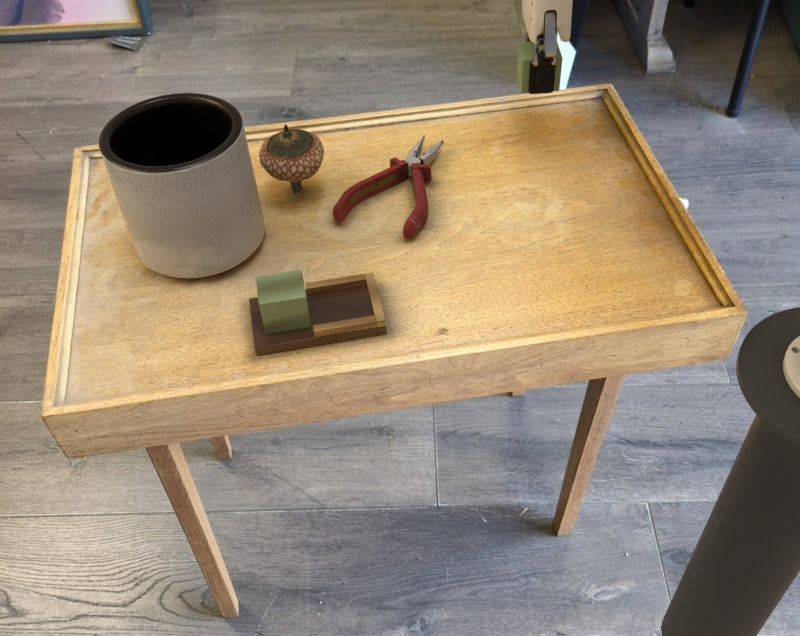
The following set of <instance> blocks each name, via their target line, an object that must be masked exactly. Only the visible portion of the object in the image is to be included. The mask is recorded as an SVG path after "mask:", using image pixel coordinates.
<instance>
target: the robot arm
mask: <svg viewBox="0 0 800 636" xmlns="http://www.w3.org/2000/svg"><path fill="white" fill-rule="evenodd" d="M573 1H574V0H521V12H522V18H523V23H524V25H525V29H526V30H525V43H533V63H530V72H529V86H528V91H529V93H528V94H529V95H540V94H543V95H544V94H551V93H553V92H554V91H553V90H554V80H555V70H556V49H557V43H558V35H559V39H560V41H561V42H564V43H568V42H569V41H570V39H571V34H572V33H571V31H572V16H573ZM539 45H544V48H543V50H540V52H539ZM538 53H539V54H538ZM783 372H784V375H785V379H786V381H787V382H788V384H789V386H790V388H791V389H792V390H793V391H794V392H795V394H796V395H797V396H798V397H799V398H800V336H799V337H797V338H796V339H795V340H794V341H793V342H792V343H791V344H790V345H789V347H788V349H787V351H786V353H785V356H784V360H783Z"/></svg>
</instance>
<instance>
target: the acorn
mask: <svg viewBox="0 0 800 636" xmlns="http://www.w3.org/2000/svg"><path fill="white" fill-rule="evenodd" d="M324 155H325V148H324V145H323V143H322V141H321V139H320V137H319V136H318V135H317V134H315V133H313V132H312V131H308V130H305V129H301V128H289V127H288V125H287V124H284V125H283V130H281V131H279V132H276V133H274V134H271V135H270V136H269V137H267V138H266V139H265V140H264V141H263V142H262V144H261V145H260V150H259V152H258V159H259V163H260V165H261V167H262V168H263V169H264V170H265V172H266V173H267V174H268V175H269V176H270V177H272V178H274V179H276V180H278V181H283V182H288V183H290V188H291V191H292V193H293V194H294V196H298V195H299V194H300V192H302V190H303V185H302V182H303V181H305V180H308V179H310V178H311V177H313V176H315V175H316V174H317V172H319V170H320V168H321V167H322V163H323V160H324Z"/></svg>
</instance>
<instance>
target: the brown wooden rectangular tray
mask: <svg viewBox="0 0 800 636" xmlns="http://www.w3.org/2000/svg"><path fill="white" fill-rule="evenodd" d="M255 282H256V283H255V284H256V291H257V297H251V298H249V299H248V302H249V303H248V304H249V310H250V311H249V312H250V320H251V321H250V322H251V329H252V338H253V339H252V340H253V348H254V352H255V356H262V355H268V354H274V353H280V352H286V351H292V350H298V349H304V348H310V347H316V346H321V345H322V346H323V345H328V344H333V343H334V344H335V343H340V342H346V341H347V342H348V341H352V340H359V339H364V338H365V339H366V338H369V337H370V338H371V337H376V336H377V337H378V336H383V335H387V334H388V330H387V321H386V317H385V312H384V308H383V305H382V301H381V297H380V293H379V290H378V285H377V281H376V277H375V274H374V272H373V271H372V272H366V273H359V274H353V275H346V276H341V277H334V278H329V279H322V280H315V281H310V282H309V281H308V282H305V281H304V275H303V270H302V269H294V270H289V271H283V272H276V273H275V272H274V273H269V274H263V275H257V276H255Z"/></svg>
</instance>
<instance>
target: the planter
mask: <svg viewBox="0 0 800 636" xmlns="http://www.w3.org/2000/svg"><path fill="white" fill-rule="evenodd" d="M245 129H246V128H245V124H244V120H243V117H242V114H241V112H240V111H239V110H238V108H236V106H235V105H233V104H232V103H231V102H228V101H227V100H225V99H223V98H220V97H217V96H214V95H211V94H206V93H197V92H178V93H177V92H175V93H167V94H162V95H158V96H154V97H150V98H146V99H144V100H141V101H139V102H135V103H134V104H132V105H129V106H127V107H126V108H124V109H122V110H121V111H120V112H118V113H117V114H115V115H114V116H113V117H112V118H110V120H109V121H108V122H107V123H106V124H105V125H104V127H102V130H101V132H100V134H99V137H98V149H99V153H100V155H101V158H102V161H103V164H104V166H105V169H106V171H107V175H108V177H109V180H110V184H111V186H112V188H113V191H114V194H115V197H116V200H117V201H116V202H117V203H118V206H119V209H120V213H121V215H122V218H123V221H124V224H125V226H126V230H127V232H128V236H129V239H130V241H131V244H132V248H133V249H134V252H135V254H136V255H137V257H138V259H139V261H141V263H142V264H143V265H144V266H146V268H148V269H150V270H151V271H153V272H155V273H157V274H160V275H163V276H166V277H171V278H176V279H201V278H207V277H212V276H215V275H219V274H221V273H224V272H227V271H229V270H231V269H234V268H235V267H237V266H239V265H240V264H242V263H243V262H244V261H247V259H249V257H251V256H252V255H253V254H254V253H255V252H256V251H257V249H258V248H259V246H260V245H261V243H262V242H263V239H264V236H265V232H266V231H265V230H266V223H265V215H264V211H263V205H262V202H261V198H260V193H259V188H258V184H257V179H256V176H255V170H254V166H253V162H252V157H251V153H250V148H249V144H248V143H249V142H248V139H247V135H246V130H245Z"/></svg>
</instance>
